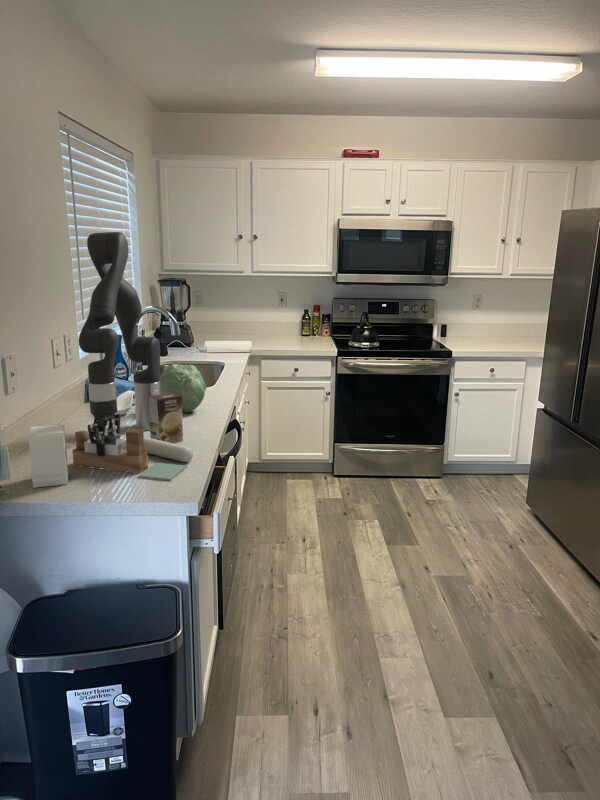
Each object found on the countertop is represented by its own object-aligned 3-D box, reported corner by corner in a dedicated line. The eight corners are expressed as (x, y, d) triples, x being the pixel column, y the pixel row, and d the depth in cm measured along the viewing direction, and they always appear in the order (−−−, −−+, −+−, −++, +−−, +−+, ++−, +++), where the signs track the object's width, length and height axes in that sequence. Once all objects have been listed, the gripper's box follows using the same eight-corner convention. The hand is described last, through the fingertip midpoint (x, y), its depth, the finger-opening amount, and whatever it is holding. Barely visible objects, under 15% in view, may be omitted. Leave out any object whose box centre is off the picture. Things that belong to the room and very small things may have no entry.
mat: (156, 464, 175) (156, 462, 175) (187, 467, 173) (187, 465, 173) (138, 477, 165) (138, 475, 165) (170, 480, 163) (170, 478, 162)
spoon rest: (121, 419, 223) (120, 401, 222) (94, 417, 226) (93, 399, 225) (152, 405, 246) (151, 388, 244) (127, 403, 249) (126, 386, 247)
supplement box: (68, 484, 159) (63, 432, 155) (32, 488, 156) (27, 435, 153) (69, 473, 167) (64, 423, 164) (35, 476, 164) (30, 426, 161)
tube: (194, 464, 179) (135, 449, 191) (197, 447, 179) (138, 433, 191) (183, 464, 174) (123, 449, 186) (186, 446, 174) (126, 432, 186)
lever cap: (95, 446, 176) (94, 431, 174) (128, 449, 173) (127, 434, 172) (84, 452, 170) (83, 437, 169) (118, 455, 168) (117, 440, 167)
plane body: (82, 461, 177) (79, 423, 174) (148, 467, 172) (146, 429, 169) (73, 466, 173) (70, 427, 170) (140, 473, 168) (138, 433, 165)
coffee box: (160, 446, 192) (158, 399, 188) (150, 442, 196) (147, 396, 192) (183, 440, 198) (182, 395, 194) (173, 436, 202) (171, 391, 199)
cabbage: (206, 416, 228) (205, 366, 223) (157, 417, 226) (155, 367, 221) (207, 406, 243) (205, 359, 239) (161, 407, 241) (159, 360, 236)
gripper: (105, 391, 175) (108, 444, 179) (76, 402, 162) (81, 459, 166) (127, 392, 174) (130, 446, 178) (100, 404, 160) (104, 461, 164)
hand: (106, 452), depth 172 cm, fingers closed on lever cap, 5 cm apart
